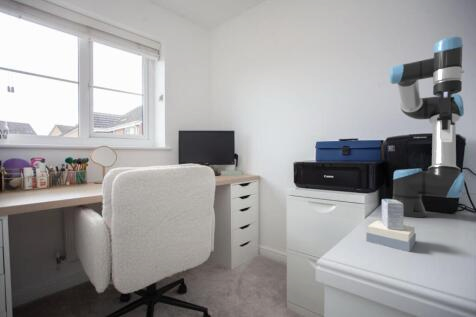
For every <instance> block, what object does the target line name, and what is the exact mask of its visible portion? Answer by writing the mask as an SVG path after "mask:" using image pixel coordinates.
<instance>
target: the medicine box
mask: <svg viewBox="0 0 476 317" xmlns="http://www.w3.org/2000/svg"><path fill="white" fill-rule="evenodd" d="M381 221H382V223H383V224H384V225H385V226H386V227H387V228H388V229H393V230H402V231H403V225H404V216H403V203H401V202H399V201H397V200H393V198H382V199H381Z"/></svg>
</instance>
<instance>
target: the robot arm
mask: <svg viewBox="0 0 476 317" xmlns="http://www.w3.org/2000/svg"><path fill="white" fill-rule="evenodd" d="M463 46H464V44H463V38H462V37H461V36H448V37H446V38H442V39H441V40H439V41H436V43H435V44H434V46H433V57H431V58H427V59H422V60H418V61H414V62H408V63H402V64H399V65H396V66H393V67H391V68H390V70H389V71H390V72H389V81H390V83H391V84H393V85H394V84H397V86H398V91H399V96H400V100H401V102H400V105H399V106H400V111H401V112H402V114H404V115H405V116H407V117H409V118H410V119H415V120H428V122H429V123H430V124H432V137H431V138H432V139H431V140H432V141H431V142H432V144H431V148H432V149H431V154H432V155H431V165H430V166H428V168H427V171H423V170H422V168H408V169H396V170H394V172H393V178H392V180H393V181H392V182H393V183H392V187H393V189H392V199H393V200H397V201H399V202H401V203H403V217H409V218H425V217H426V215H427V212H426V209H425V206H424V204H423V200H422V196H430V197H431V196H432V197H441V198H447V199H448V198H452V199H453V198H454V199H455V198H456V199H457V198H460V197H461V196H462V194H463V190H464V186H465V179H466V173H464V172H461V168H460V167H458V166H457V149H456V148H457V147H456V146H457V145H456V144H457V143H456V142H457V141H456V140H457V137H456V136H457V134H456V126H457V122H458V121H460V117H463V116H464V114H465V112H464V111H465V110H464V109H465V108H464V101H463V98H462V95H460V94H459V93H460V92H461V91H462V83H463V80H462V74H464V73H465V70H463V69H462V68H463V65H462V64H463ZM429 78H433V79H432V81H433V82H432V84H433V87H432V89H433V90H432V94H433V96H429V97H421V96H420V86H419V80H425V79H429Z"/></svg>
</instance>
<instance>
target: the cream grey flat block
mask: <svg viewBox="0 0 476 317" xmlns="http://www.w3.org/2000/svg"><path fill="white" fill-rule="evenodd" d="M415 228H416V227H415V226H410V225H404V224H403V231H402V230H393V229H388V228H387V227H386V226H385V225H384V224H383V223H382V220H375V221H374V222H372V223H370V224H368V225H367V232H366V236H365V237H366V239H365V241H366V242H369V243H374V244H378V245H381V246H386V247H389V248H393V249H397V250H401V251H405V252H410V251H411V249H412V248H413V246H414V245H415V244H416V242H417V241H416V237H417V234H416V233H415V231H416V230H415Z"/></svg>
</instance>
